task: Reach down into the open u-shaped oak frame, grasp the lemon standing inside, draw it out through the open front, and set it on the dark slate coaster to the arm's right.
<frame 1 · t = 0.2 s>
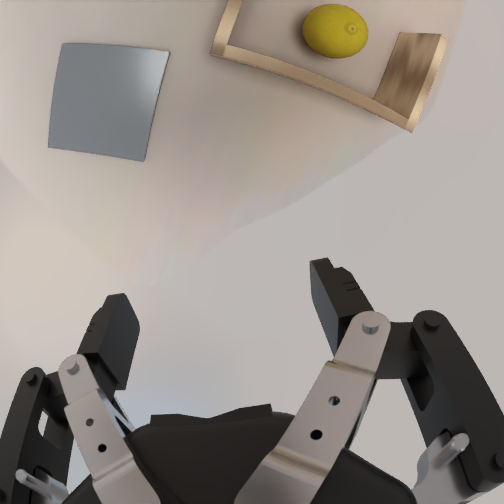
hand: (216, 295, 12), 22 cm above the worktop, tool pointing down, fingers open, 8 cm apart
slate coaster: (102, 99, 25), on the worktop
lemon: (319, 33, 24), on the worktop
open u-shaped oak frame: (318, 37, 24), on the worktop
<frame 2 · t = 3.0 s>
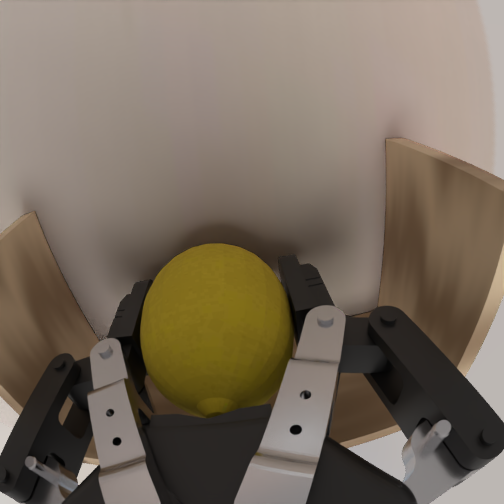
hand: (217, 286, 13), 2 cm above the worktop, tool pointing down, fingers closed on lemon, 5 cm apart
lemon: (217, 265, 14), on the worktop, touching gripper
open u-shaped oak frame: (219, 275, 14), on the worktop
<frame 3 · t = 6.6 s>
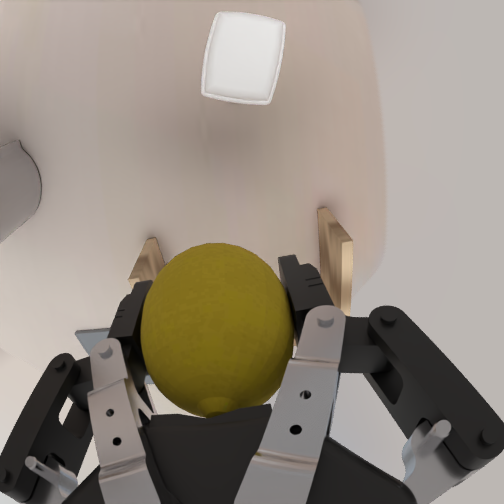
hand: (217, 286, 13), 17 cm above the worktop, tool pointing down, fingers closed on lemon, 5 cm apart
slate coaster: (127, 357, 39), on the worktop
lemon: (218, 264, 14), point 15 cm above the worktop, touching gripper
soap: (242, 57, 23), on the worktop
open u-shaped oak frame: (244, 268, 33), on the worktop
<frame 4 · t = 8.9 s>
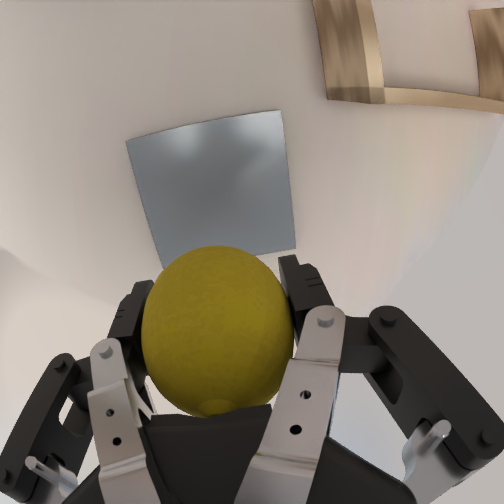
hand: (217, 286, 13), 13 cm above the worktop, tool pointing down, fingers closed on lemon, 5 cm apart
slate coaster: (215, 194, 24), on the worktop
lemon: (218, 266, 14), point 11 cm above the worktop, touching gripper
open u-shaped oak frame: (416, 43, 18), on the worktop
when the fingers open (4 cm above the worktop, at t = 10.6 s): lemon drops 2 cm, resting on slate coaster.
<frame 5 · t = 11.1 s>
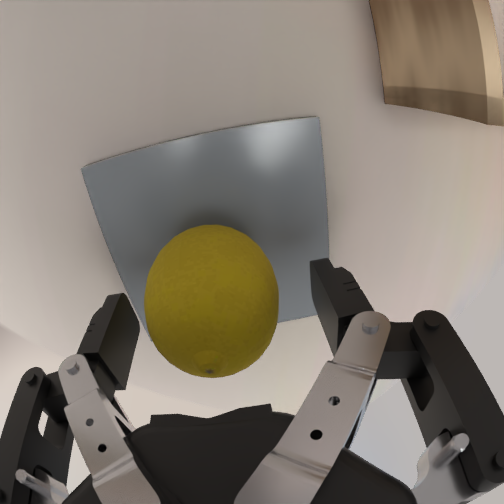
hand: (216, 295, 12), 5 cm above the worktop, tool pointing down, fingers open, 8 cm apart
slate coaster: (217, 243, 16), on the worktop
lemon: (214, 247, 16), resting on slate coaster
open u-shaped oak frame: (486, 36, 10), on the worktop
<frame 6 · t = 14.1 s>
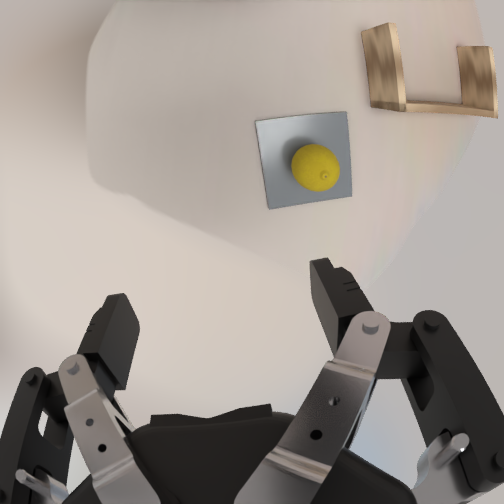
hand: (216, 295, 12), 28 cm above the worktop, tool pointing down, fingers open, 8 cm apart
slate coaster: (306, 159, 38), on the worktop
lemon: (306, 160, 37), resting on slate coaster
open u-shaped oak frame: (421, 72, 32), on the worktop
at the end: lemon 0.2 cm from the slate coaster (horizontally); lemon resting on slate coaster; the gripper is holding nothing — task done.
